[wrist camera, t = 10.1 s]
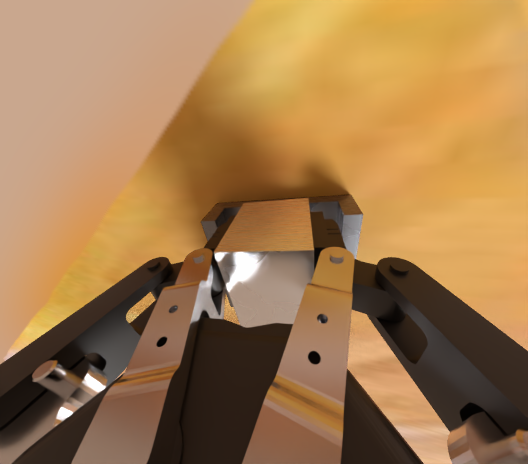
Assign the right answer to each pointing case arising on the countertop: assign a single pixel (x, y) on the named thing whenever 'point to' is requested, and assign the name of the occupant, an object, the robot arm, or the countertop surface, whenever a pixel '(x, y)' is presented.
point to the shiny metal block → (267, 260)
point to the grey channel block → (331, 206)
